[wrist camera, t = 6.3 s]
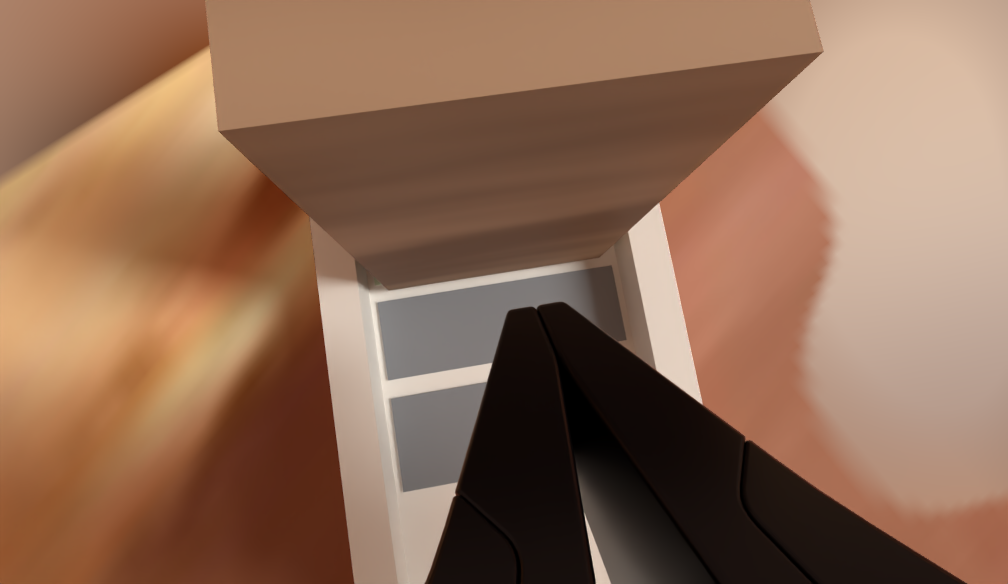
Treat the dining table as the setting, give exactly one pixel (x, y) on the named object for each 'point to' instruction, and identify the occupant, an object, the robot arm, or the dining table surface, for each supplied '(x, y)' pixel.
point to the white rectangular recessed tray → (460, 377)
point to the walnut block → (491, 116)
